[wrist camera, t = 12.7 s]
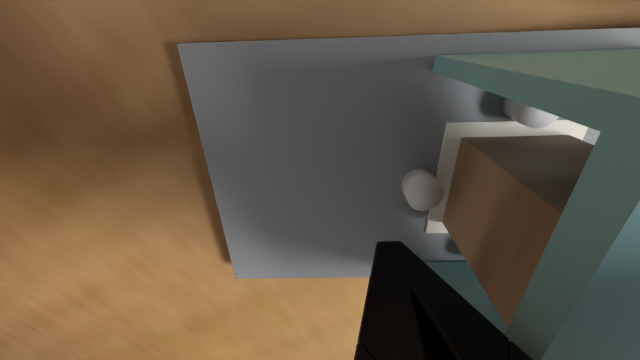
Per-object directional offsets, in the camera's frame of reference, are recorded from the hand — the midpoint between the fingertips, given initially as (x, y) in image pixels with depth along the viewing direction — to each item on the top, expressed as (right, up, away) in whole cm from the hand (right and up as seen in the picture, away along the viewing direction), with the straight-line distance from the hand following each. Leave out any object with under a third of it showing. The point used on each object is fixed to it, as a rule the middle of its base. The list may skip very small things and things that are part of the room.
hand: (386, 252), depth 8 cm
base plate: (+2, +2, +4) cm, 5 cm away
